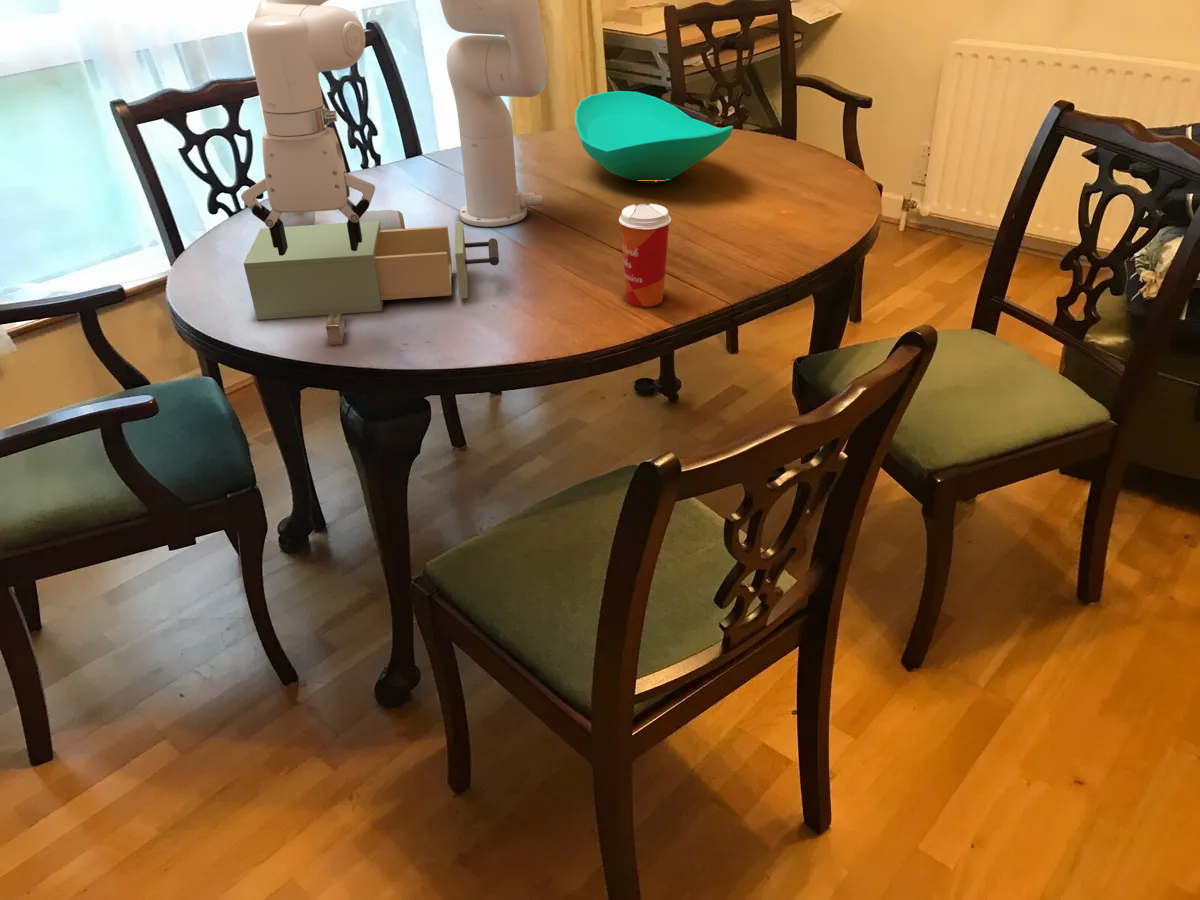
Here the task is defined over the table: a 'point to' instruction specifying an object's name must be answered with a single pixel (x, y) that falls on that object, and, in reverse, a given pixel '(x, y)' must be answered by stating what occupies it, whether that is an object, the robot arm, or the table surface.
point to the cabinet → (314, 272)
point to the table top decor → (643, 135)
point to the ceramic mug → (385, 219)
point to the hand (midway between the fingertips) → (319, 249)
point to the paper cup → (644, 252)
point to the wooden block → (335, 329)
